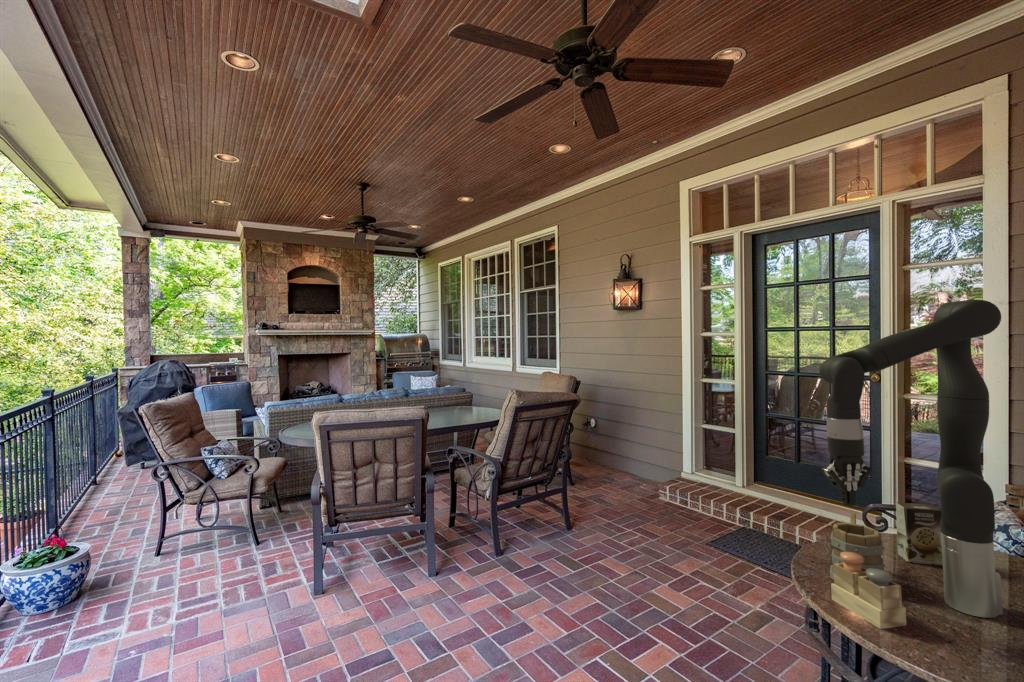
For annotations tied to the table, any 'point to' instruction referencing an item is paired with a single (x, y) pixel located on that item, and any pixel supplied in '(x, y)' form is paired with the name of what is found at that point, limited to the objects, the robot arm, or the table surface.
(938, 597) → the table surface
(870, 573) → the grey mushroom plug
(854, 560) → the terracotta plug
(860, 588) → the frame
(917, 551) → the coffee box
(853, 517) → the tankard
